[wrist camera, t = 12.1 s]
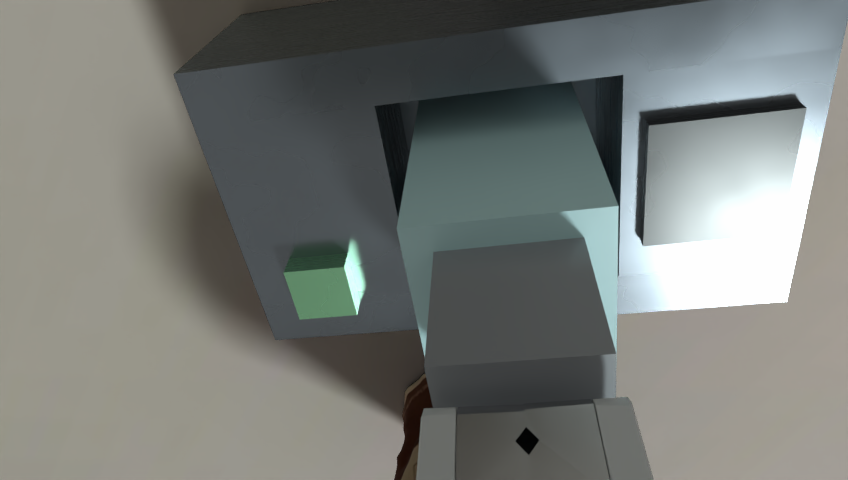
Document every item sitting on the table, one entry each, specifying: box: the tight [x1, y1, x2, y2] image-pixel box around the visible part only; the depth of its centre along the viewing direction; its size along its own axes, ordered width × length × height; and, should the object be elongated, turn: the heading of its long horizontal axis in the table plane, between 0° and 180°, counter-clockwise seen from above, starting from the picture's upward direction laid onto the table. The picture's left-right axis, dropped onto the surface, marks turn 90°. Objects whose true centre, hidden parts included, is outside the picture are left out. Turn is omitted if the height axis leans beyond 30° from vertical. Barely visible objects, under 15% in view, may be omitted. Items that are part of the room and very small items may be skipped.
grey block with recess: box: [174, 0, 848, 340], centre depth 17 cm, size 14×8×6 cm, turn 99°
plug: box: [397, 81, 619, 408], centre depth 14 cm, size 4×4×10 cm
